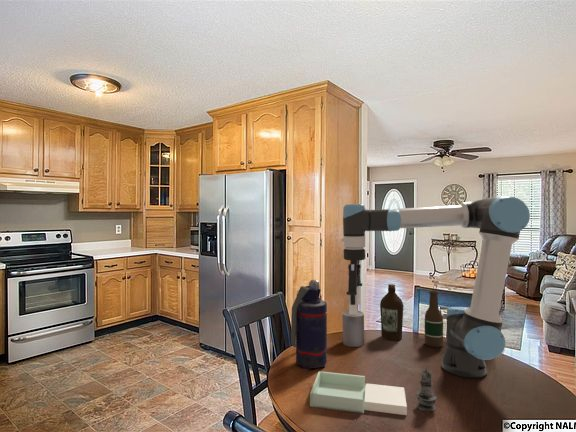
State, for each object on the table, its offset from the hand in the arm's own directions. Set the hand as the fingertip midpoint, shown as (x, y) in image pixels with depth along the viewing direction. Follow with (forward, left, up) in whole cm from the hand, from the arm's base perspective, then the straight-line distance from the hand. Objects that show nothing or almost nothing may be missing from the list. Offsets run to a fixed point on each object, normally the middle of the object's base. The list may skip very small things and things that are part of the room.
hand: (355, 309), depth 127 cm
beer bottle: (-32, -44, -25) cm, 60 cm away
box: (+4, +13, -25) cm, 28 cm away
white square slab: (-10, +13, -25) cm, 30 cm away
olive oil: (-14, -49, -25) cm, 57 cm away
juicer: (+19, -27, -25) cm, 42 cm away
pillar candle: (+3, -37, -25) cm, 45 cm away
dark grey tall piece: (-22, +13, -25) cm, 36 cm away
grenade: (+18, -9, -25) cm, 32 cm away
